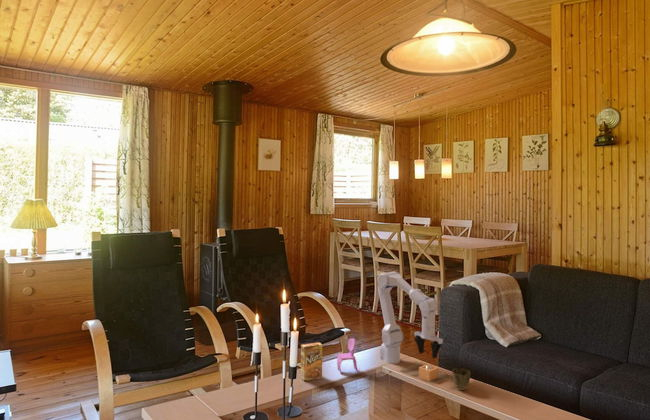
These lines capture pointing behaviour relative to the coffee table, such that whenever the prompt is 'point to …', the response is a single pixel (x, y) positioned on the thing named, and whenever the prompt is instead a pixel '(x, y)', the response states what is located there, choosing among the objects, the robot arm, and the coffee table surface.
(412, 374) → the board
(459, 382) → the cup
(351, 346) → the toy chair
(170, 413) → the coffee table surface
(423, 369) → the collar
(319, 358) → the candy box
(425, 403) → the coffee table surface
